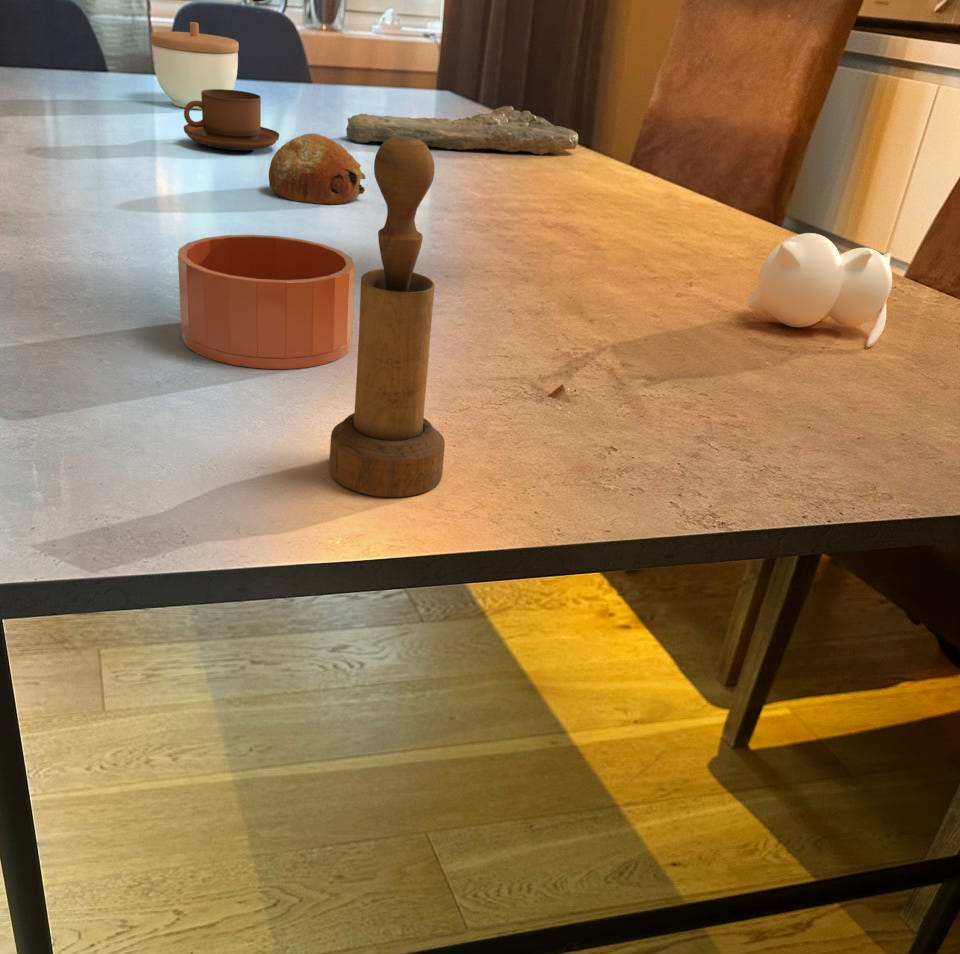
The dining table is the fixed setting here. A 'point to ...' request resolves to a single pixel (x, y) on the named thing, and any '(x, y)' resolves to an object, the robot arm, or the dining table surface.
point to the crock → (266, 301)
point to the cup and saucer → (229, 121)
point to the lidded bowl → (193, 63)
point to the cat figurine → (823, 284)
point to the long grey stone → (469, 131)
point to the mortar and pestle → (393, 346)
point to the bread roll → (315, 171)
